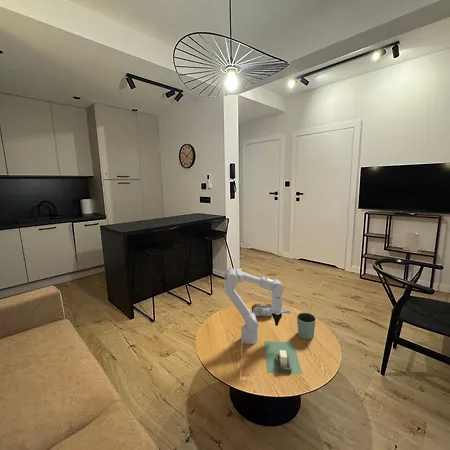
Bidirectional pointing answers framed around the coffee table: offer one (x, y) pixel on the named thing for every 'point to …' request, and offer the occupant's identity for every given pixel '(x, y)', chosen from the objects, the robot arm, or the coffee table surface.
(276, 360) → the board
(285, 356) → the cream rectangular block
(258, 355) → the coffee table surface
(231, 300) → the robot arm
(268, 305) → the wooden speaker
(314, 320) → the grey-green cup
